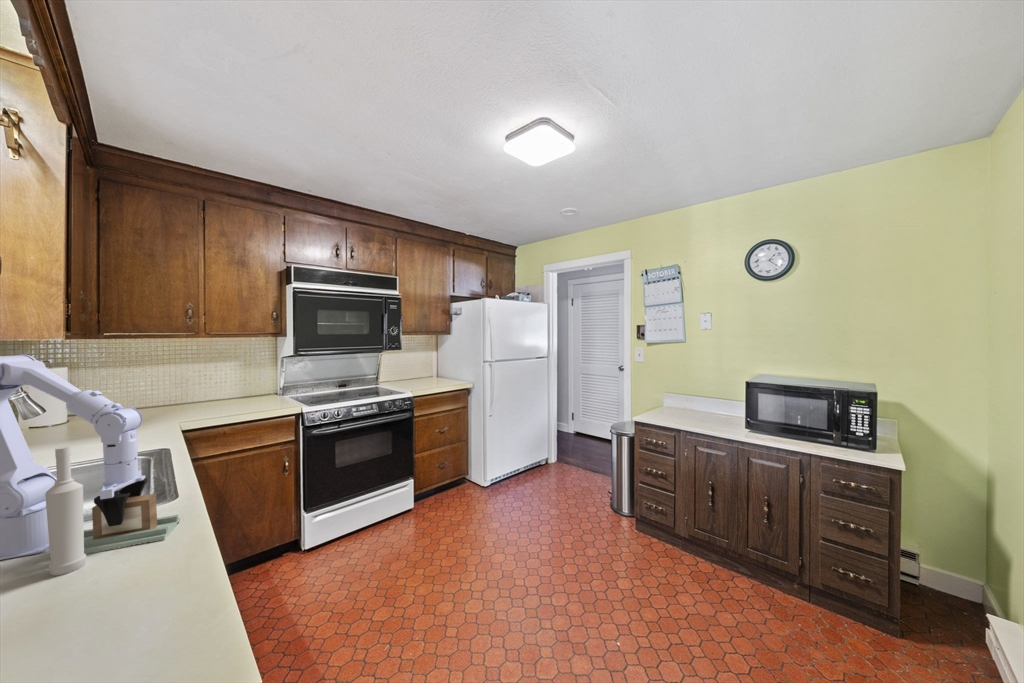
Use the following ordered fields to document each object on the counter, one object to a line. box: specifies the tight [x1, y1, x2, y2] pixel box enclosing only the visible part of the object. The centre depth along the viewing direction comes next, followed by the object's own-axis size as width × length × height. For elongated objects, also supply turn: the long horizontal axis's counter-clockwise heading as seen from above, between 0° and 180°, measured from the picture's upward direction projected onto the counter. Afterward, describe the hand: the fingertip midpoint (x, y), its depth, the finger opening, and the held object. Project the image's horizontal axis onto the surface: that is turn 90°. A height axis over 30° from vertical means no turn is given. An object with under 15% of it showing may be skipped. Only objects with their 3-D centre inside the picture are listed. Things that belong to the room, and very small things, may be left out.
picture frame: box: [91, 493, 158, 539], centre depth 94 cm, size 10×4×8 cm, turn 114°
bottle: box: [45, 445, 87, 577], centre depth 82 cm, size 5×5×25 cm
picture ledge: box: [84, 514, 181, 555], centre depth 94 cm, size 18×10×2 cm, turn 114°
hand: (123, 518), depth 94 cm, fingers open, 7 cm apart
